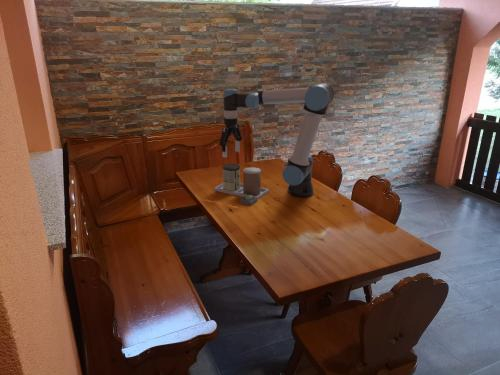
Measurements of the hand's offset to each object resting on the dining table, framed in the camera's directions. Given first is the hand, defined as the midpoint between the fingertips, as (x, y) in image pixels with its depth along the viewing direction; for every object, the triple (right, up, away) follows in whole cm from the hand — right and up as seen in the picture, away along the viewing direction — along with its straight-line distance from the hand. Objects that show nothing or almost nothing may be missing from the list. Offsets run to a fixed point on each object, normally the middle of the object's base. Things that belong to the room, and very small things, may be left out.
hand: (231, 154), depth 213 cm
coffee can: (0, -20, +8) cm, 22 cm away
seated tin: (+12, -23, +1) cm, 25 cm away
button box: (+10, -28, -11) cm, 32 cm away
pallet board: (+6, -22, +5) cm, 23 cm away
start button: (+10, -27, -11) cm, 31 cm away
